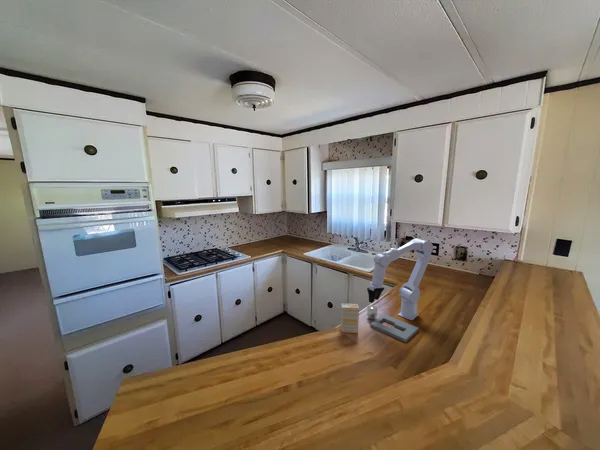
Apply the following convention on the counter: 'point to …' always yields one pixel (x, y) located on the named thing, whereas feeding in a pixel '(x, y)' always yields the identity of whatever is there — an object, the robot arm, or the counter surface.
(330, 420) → the counter surface
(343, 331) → the supplement box
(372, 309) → the headed peg
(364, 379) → the counter surface
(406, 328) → the keyhole plate
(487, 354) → the counter surface
